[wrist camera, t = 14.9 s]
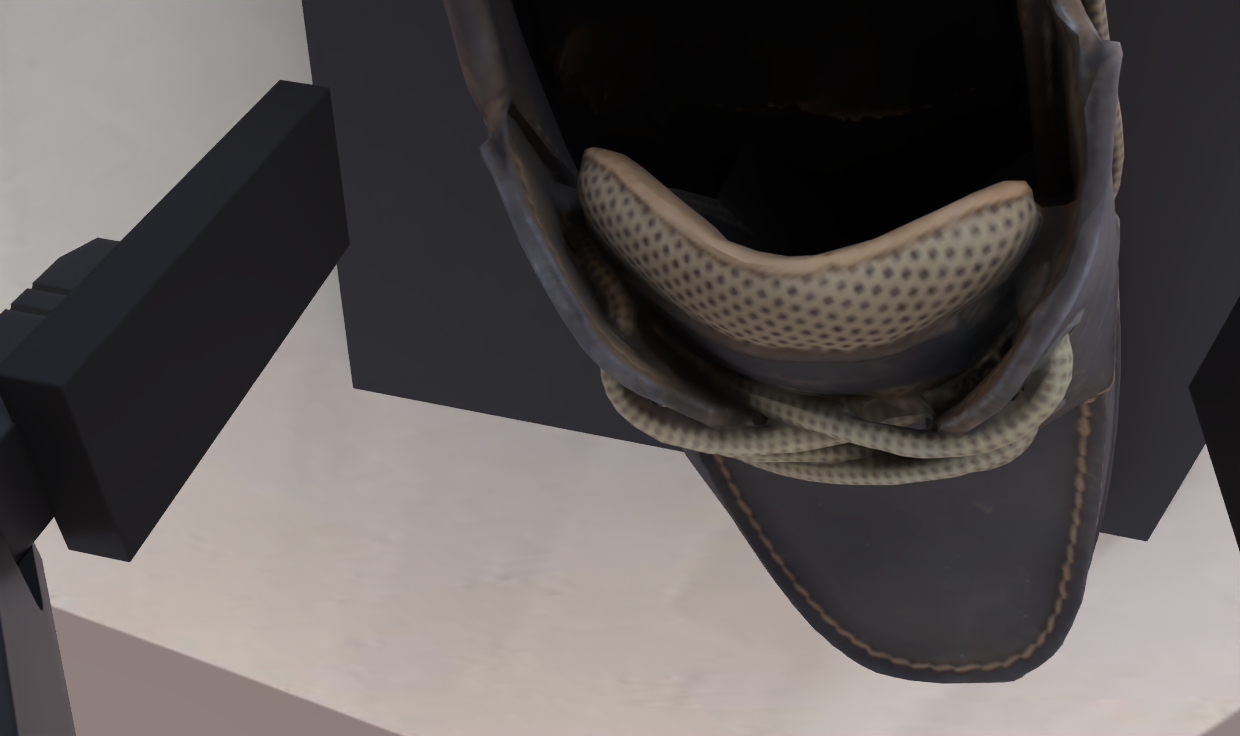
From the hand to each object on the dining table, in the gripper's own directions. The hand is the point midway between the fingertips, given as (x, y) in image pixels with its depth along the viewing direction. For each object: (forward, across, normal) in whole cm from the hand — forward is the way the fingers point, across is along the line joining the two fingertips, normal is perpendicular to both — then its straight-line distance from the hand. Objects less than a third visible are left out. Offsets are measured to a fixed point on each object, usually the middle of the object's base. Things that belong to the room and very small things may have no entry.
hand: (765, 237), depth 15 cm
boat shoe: (+8, 0, 0) cm, 8 cm away
